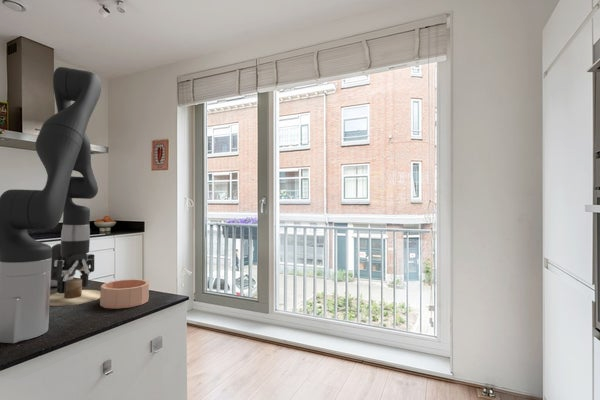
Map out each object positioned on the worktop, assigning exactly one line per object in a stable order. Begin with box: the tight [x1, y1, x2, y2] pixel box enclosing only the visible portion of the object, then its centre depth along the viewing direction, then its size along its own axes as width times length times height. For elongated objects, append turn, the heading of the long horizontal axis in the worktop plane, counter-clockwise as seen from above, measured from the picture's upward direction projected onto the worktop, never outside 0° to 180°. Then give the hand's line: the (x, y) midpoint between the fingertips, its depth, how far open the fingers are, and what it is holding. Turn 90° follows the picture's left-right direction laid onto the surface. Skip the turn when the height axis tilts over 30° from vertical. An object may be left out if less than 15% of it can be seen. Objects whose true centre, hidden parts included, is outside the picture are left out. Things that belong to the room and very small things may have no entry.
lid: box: [49, 278, 101, 307], centre depth 100 cm, size 16×16×6 cm
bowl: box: [99, 278, 150, 310], centre depth 98 cm, size 13×13×6 cm
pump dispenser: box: [50, 243, 77, 288], centre depth 115 cm, size 10×10×15 cm
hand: (73, 289), depth 100 cm, fingers open, 8 cm apart
